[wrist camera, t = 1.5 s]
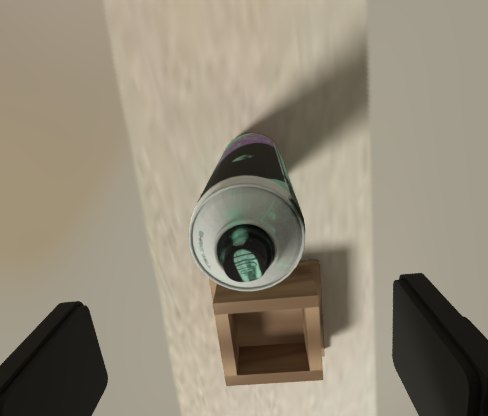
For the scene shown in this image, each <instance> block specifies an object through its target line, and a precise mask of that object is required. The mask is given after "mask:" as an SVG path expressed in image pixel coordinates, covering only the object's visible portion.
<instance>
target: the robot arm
mask: <svg viewBox="0 0 488 416" xmlns="http://www.w3.org/2000/svg"><path fill="white" fill-rule="evenodd" d="M392 351H393V354H392V356H393V362H394V366H395V369H396V371H397V373H398V375H399V377H400V379H401V381H402V383H403V385H404V387H405V389H406V391H407V393H408V395H409V397H410V399H411V401H412V403H413V405H414V407H415V408H416V411H417V413H418V415H419V416H488V340H487V338H485V336H484V335H483V334H482V333H481V332H480V331H479V330H478V329H477V328H476V327H475V326H474V325H473V324H472V323H471V321H470V320H468V319H467V318H466V317H463V316H462V315H461V314H460V313H459V312H458V311H457V310H456V309H455V308H454V307H453V306H452V305H451V304H450V303H449V301H447V299H446V298H445V297H444V296H443V295H442V294H441V293H440V292H439V291H438V290H437V288H436V287H435V286H434V285H433V284H432V283H431V282H430V281H429V280H428V279H427V278H426V277H425V276H424V274H422V273H415V274H403V275H400V278H399V280H395V281H394V284H393V349H392ZM107 380H108V375H107V371H106V368H105V365H104V361H103V357H102V354H101V350H100V347H99V343H98V340H97V336H96V332H95V329H94V325H93V322H92V318H91V315H90V311H89V309H88V307H87V306H84V305H83V304H82V303H81V302H79V301H77V302H65V303H60V304H59V305H57V306H56V307H55V309H54V310H53V311H52V312H51V313H50V314H49V315H48V316H47V317H46V318H45V319H44V320H43V321H42V322H41V323H40V324H39V325H38V326H37V328H36V329H35V330H34V331H33V332H32V333H31V334H30V335H29V336H28V337H27V338H26V339H25V340H24V341H23V342H22V343H21V344H20V345H19V346H18V347H17V349H16V350H15V351H14V352H13V353H12V354H11V355H10V356H9V357H8V358H7V359H6V360H5V361H4V362H3V363H2V364H1V365H0V416H92V414H93V412H94V410H95V408H96V406H97V404H98V402H99V400H100V398H101V396H102V394H103V393H104V390H105V388H106V386H107V382H108V381H107Z"/></svg>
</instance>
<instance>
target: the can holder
mask: <svg viewBox="0 0 488 416" xmlns="http://www.w3.org/2000/svg"><path fill="white" fill-rule="evenodd" d="M209 281H210V287H211V293H212V299H213V308H214V314H215V320H216V326H217V332H218V338H219V344H220V351H221V357H222V363H223V369H224V375H225V381H226V386H235V385H251V384H267V383H283V382H299V381H315V380H323V367H322V356H324V337H323V319H322V300H321V282H320V265H319V262H318V260H314V261H302V262H299V263H298V265H297V267H296V268H295V269H294V270H293V271H292V273H291V274H290V275H289V276H288V277H286V278H285V279H284V280H283V281H281V282H279V283H278V284H276V285H274V286H272V287H269V288H266V289H263V290H257V291H238V290H233V289H229V288H226V287H224V286H221V285H219V284H217V283H216V282H214V281H213V280H211V279H210V278H209Z"/></svg>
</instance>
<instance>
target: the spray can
mask: <svg viewBox="0 0 488 416" xmlns="http://www.w3.org/2000/svg"><path fill="white" fill-rule="evenodd" d="M189 228H190V229H189V246H190V250H191V254H192V256H193V258H194V260H195V262H196V264H197V265H198V267H199V268H200V269H201V271H202V272H203V273H204V274H205V275H206V276H207V277H209V278H210V279H211V280H213V281H214V282H216V283H217V284H219V285H221V286H224V287H226V288H229V289H233V290H238V291H257V290H263V289H266V288H269V287H272V286H274V285H276V284H278V283H279V282H281V281H283V280H284V279H285V278H286V277H288V276H289V275H290V274H291V273H292V271H293V270H294V269H295V268H296V267H297V265H298V263H299V261H300V259H301V257H302V254H303V251H304V247H305V224H304V218H303V215H302V213H301V210H300V207H299V204H298V201H297V199H296V196H295V193H294V190H293V187H292V184H291V182H290V179H289V176H288V173H287V170H286V168H285V165H284V162H283V159H282V156H281V154H280V151H279V149H278V147H277V146H276V145H275V143H274V142H273V141H272V140H270V139H269V138H268V137H266V136H263V135H261V134H256V133H249V134H244V135H241V136H239V137H237V138H235V139H234V140H233V141H232V142H231V143H230V144H229V145H228V146H227V148H226V149H225V151H224V153H223V155H222V157H221V159H220V161H219V163H218V164H217V166H216V168H215V170H214V172H213V174H212V176H211V178H210V180H209V182H208V183H207V185H206V187H205V189H204V191H203V193H202V195H201V197H200V199H199V201H198V202H197V204H196V206H195V209H194V211H193V214H192V216H191V221H190V227H189Z"/></svg>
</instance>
